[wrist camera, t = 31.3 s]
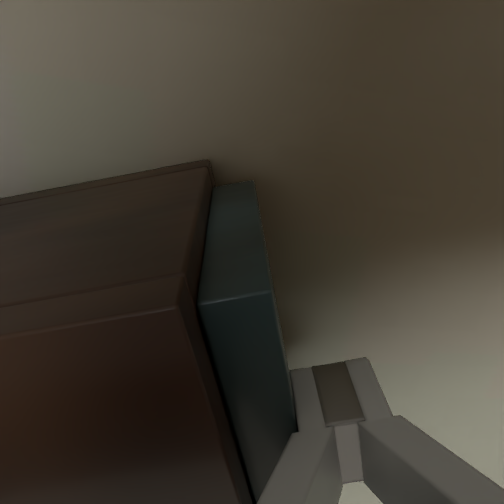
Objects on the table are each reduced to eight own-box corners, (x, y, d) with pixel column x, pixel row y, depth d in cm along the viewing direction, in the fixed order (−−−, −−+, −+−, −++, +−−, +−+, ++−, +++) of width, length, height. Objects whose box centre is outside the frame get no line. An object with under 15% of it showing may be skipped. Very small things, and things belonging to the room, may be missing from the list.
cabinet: (209, 158, 12) (177, 305, 5) (280, 466, 18) (307, 708, 12) (-248, 245, 12) (-825, 480, 6) (-20, 513, 19) (-159, 769, 12)
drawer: (295, 171, 11) (349, 276, 6) (334, 468, 17) (378, 648, 12) (-194, 263, 12) (-526, 430, 7) (11, 519, 18) (-79, 710, 13)
